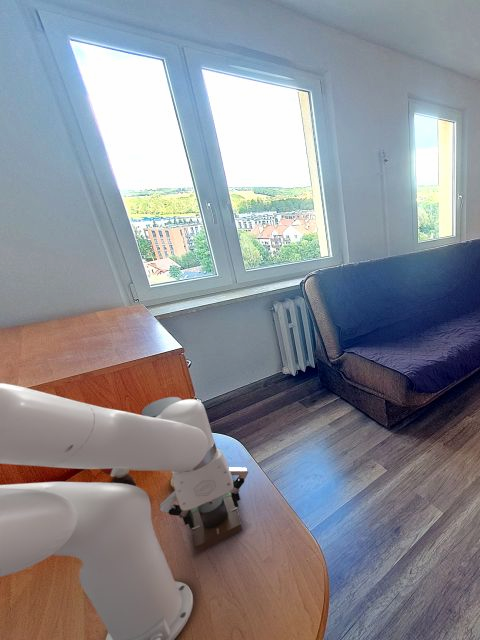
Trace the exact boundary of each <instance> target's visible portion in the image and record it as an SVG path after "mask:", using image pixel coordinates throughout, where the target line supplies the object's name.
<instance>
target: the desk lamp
mask: <svg viewBox="0 0 480 640" xmlns="http://www.w3.org/2000/svg"><path fill="white" fill-rule="evenodd" d="M182 400H183V399H182V398H181V397H178V396H169V397H163V398H159V399H157V400H154V401H152V402H151V403H148V404H147V405H146V406H144V408H143V409H142V410H141V415H143V416H149V417H154V418H155V417H157V416H158V415H160V414H161V412H162V411H163V410H164V409H165V408H166V407H168V406H169V405H171V404H173V403H175V402H178V401H182ZM169 485H170V488H172V490H173V491H175V489H174V485H173V479H172V478H171V479H170V482H169Z"/></svg>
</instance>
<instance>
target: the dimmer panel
mask: <svg viewBox="0 0 480 640" xmlns="http://www.w3.org/2000/svg"><path fill="white" fill-rule="evenodd" d="M224 501H225V505H226V508H227V512H228V516H227V518H226V520H225V521H224V522H223V523H222V524H220V525H219V526H217V527H214V528H205V527H204V526H203V523H202V520H201V517H200V514H199V511H196V512H194V513H192V515H193V519H194V527H193V528H192V529H191V531H192V535H193V546H194V550H195V552H196V554H199V553H200V552H202V551H204V550H206V549H208V548H210V547H212V546H214V545H216V544H218V543H221V542H222V541H224V540H225V539H226V540H227V539H228V538H230V537H232V536H234V535H236V534H238V533H239V532H242V531H243V530H244V529H243V525H242V521H241V518H240V513H239V510H238V509H239V508H238V507H239V506H238V507H235V506H234V503H233V499H232V496H229V497H227V498H225V499H224Z"/></svg>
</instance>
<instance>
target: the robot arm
mask: <svg viewBox="0 0 480 640" xmlns="http://www.w3.org/2000/svg"><path fill="white" fill-rule="evenodd" d="M0 464H2V465H18V466H31V467H32V466H33V467H45V468H56V469H57V468H58V469H78V470H100V469H109V468H121V469H125V470H129V471H136V472H137V471H139V472H142V471H143V472H171V473H172V474H171V479H173V485H174V489H175V490H174V489H173V491H172V492H171V493H170V494H169V495H168V496H167V497H166V498H165V499H164V500H163V501H162V502H161V503H160V504H159V511H160V512H163V513H167V514H168V515H170V516H178V517H179V518H180V519H182V521H183V523H184V525H185V526H186V525H188V527H189V529H190V530H192V529H193V527H194V519H193V515H192V509H193V508H195V507H197V506H199V505H202V504H204V503H206V502H208V501H211V500H213V499H215V498H217V497H220V496H222V495H224V494H226V493H228V492H231V495H232V499H233V503H234V506H235V507H239V504H238V502H239V501H241V497H240V493H239V492H240V489H241V487H242V486H243V484H244V483H245V480H246V478H247V477H248V474H249V469H248V468H247V467H230V466H229V464H228V461H227V458H226V456H225V455H224V453H223V451H222V449H220V447H217V445H216V442H215V439H214V435H213V432H212V429H211V425H210V421H209V418H208V414H207V411H206V408H205V405H204V404H203V403H202V401H200V400H198V399H193V398H188V399H187V398H186V399H182V401H178V402H175V403H173V404H171V405H169V406H168V407H166V408H165V409H164V410H163V411H162V412H161V414H160V415H158V416H157V417H155V418H154V417H149V416H143V415H142V414H138V413H134V412H129V411H125V410H119V409H113V408H107V407H102V406H98V405H94V404H90V403H86V402H82V401H77V400H74V399H70V398H66V397H62V396H60V395H59V396H58V395H55V394H52V393H47V392H44V391H40V390H35V389H32V388H29V387H24V386H21V385H16V384H9V383H3V382H0ZM233 476H237V478H236V479H235V480H234V479H233ZM176 501H177V503H178V504H173V503H174V502H176ZM151 507H152V506H151V500H150V497H149V495H148V493H147V492H146V491H145V490H144V489H143V488H141V487H139V486H137V487H136V486H133V485H129V484H123V483H114V482H103V481H101V482H99V481H91V482H87V481H86V482H85V481H84V482H83V481H44V482H28V483H11V484H9V483H8V484H0V578H2V577H5V576H8V575H13V574H16V573H19V572H22V571H24V570H26V569H29V568H31V567H33V566H36V565H37V564H39V563H41V562H43V561H44V560H46V559H47V558H49V557H51V556H63V557H73V558H77V559H78V560H80V561H81V563H82V565H81V567H80V569H79V572H78V580H79V584H80V586H81V588H82V590H83V592H84V594H85V595H86V597H87V599H88V600H89V601H90V603H91V605H92V607H93V608H94V610H95V612H96V614H97V615H98V617H99V619H100V620H101V622H102V625H104V627H105V630H106V631H107V634H106V637H105V640H175V639H176V638H177V636H178V635H180V633H181V632H182V630H183V629H184V627H185V626H186V624H187V622H188V621H189V618H190V616H191V614H192V611H193V608H194V607H193V606H194V595H193V592H192V589H190V587H189V585H187V584H186V583H184V582H181V581H176V580H175V578H174V576H173V573H172V571H171V569H170V566H169V564H168V562H167V559H166V556H165V553H164V552H163V550H162V547H161V545H160V543H159V540H158V538H157V535H156V533H155V530H154V526H153V520H152V508H151Z"/></svg>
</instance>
